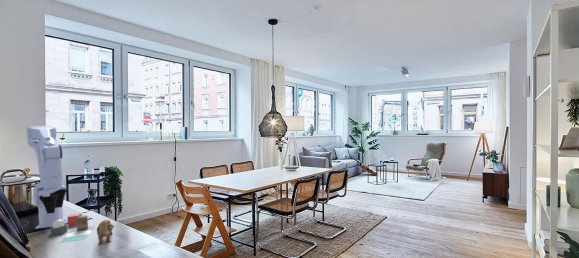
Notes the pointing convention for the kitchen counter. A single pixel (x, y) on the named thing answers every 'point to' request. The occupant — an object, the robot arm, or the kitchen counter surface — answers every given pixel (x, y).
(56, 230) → the dome housing
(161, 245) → the kitchen counter surface
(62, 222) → the dome cap
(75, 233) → the game track
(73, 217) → the red die
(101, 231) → the lion figurine
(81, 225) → the walnut pawn
